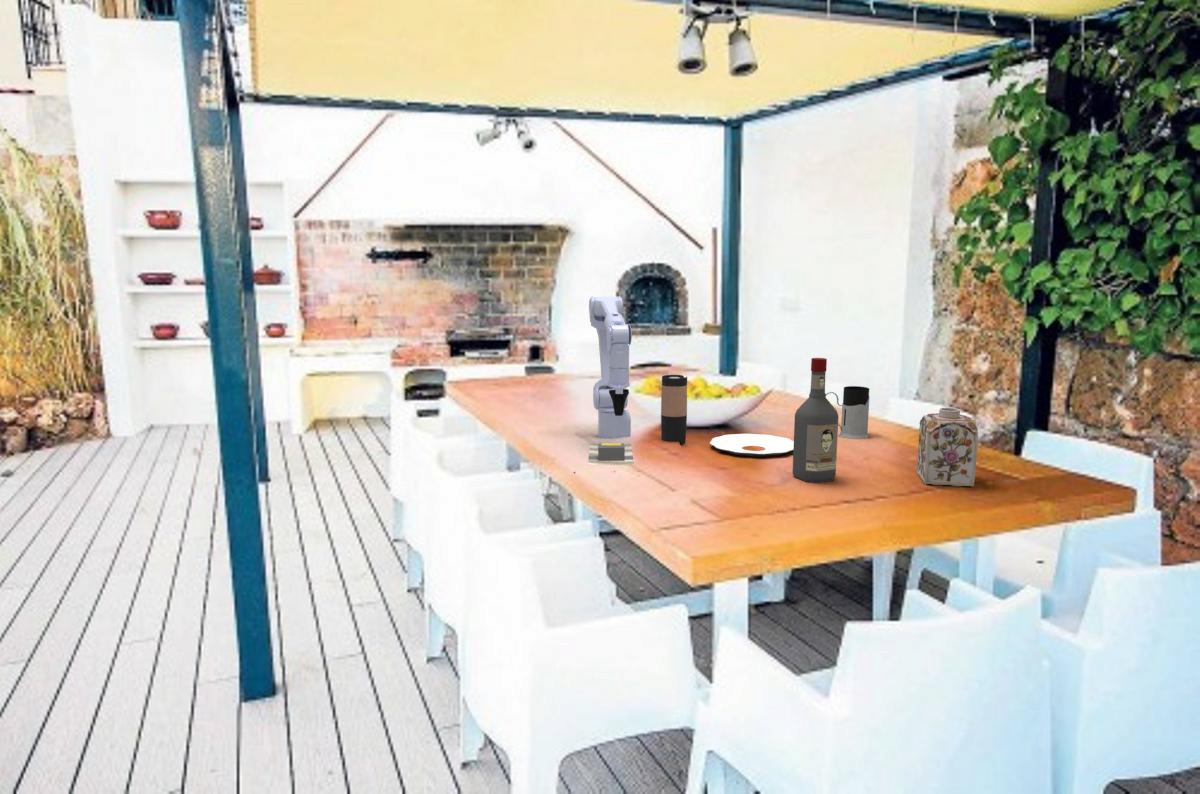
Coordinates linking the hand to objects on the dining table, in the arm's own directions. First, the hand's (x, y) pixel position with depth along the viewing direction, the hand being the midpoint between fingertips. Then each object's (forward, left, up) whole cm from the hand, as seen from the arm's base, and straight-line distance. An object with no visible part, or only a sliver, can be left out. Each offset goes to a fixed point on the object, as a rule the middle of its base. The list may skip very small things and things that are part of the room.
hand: (618, 415), depth 231 cm
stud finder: (+7, +12, -9) cm, 16 cm away
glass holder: (-73, +5, -11) cm, 74 cm away
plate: (-38, +10, -11) cm, 41 cm away
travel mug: (-19, -4, -11) cm, 22 cm away
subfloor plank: (+5, +7, -10) cm, 13 cm away
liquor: (-36, +43, -11) cm, 57 cm away
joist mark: (+7, +11, -10) cm, 17 cm away
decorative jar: (-65, +56, -11) cm, 86 cm away
